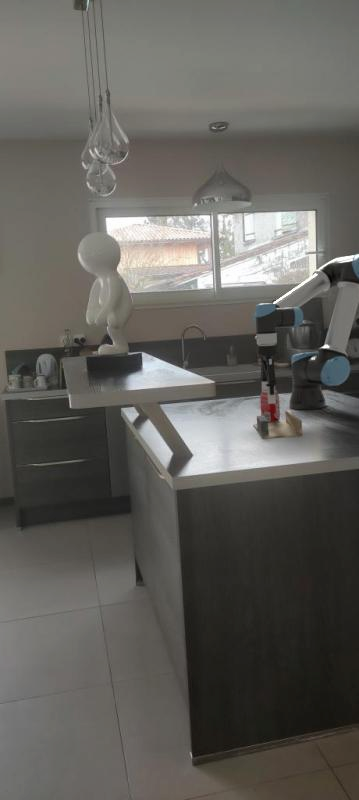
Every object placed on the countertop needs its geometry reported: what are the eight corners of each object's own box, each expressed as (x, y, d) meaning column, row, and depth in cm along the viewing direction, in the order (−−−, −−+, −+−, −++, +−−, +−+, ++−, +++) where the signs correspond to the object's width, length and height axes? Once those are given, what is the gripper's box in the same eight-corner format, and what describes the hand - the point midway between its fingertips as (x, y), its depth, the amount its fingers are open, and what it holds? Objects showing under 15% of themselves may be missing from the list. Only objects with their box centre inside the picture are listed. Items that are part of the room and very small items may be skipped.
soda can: (279, 419, 225) (278, 388, 223) (280, 423, 218) (279, 391, 216) (261, 420, 226) (259, 390, 224) (261, 424, 219) (260, 392, 217)
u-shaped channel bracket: (289, 422, 217) (288, 408, 216) (302, 435, 196) (301, 419, 195) (253, 425, 217) (252, 411, 216) (262, 438, 195) (261, 422, 195)
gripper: (252, 343, 230) (254, 396, 233) (262, 347, 205) (264, 406, 208) (271, 342, 230) (272, 395, 233) (283, 346, 205) (285, 405, 208)
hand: (268, 400), depth 221 cm, fingers open, 13 cm apart
